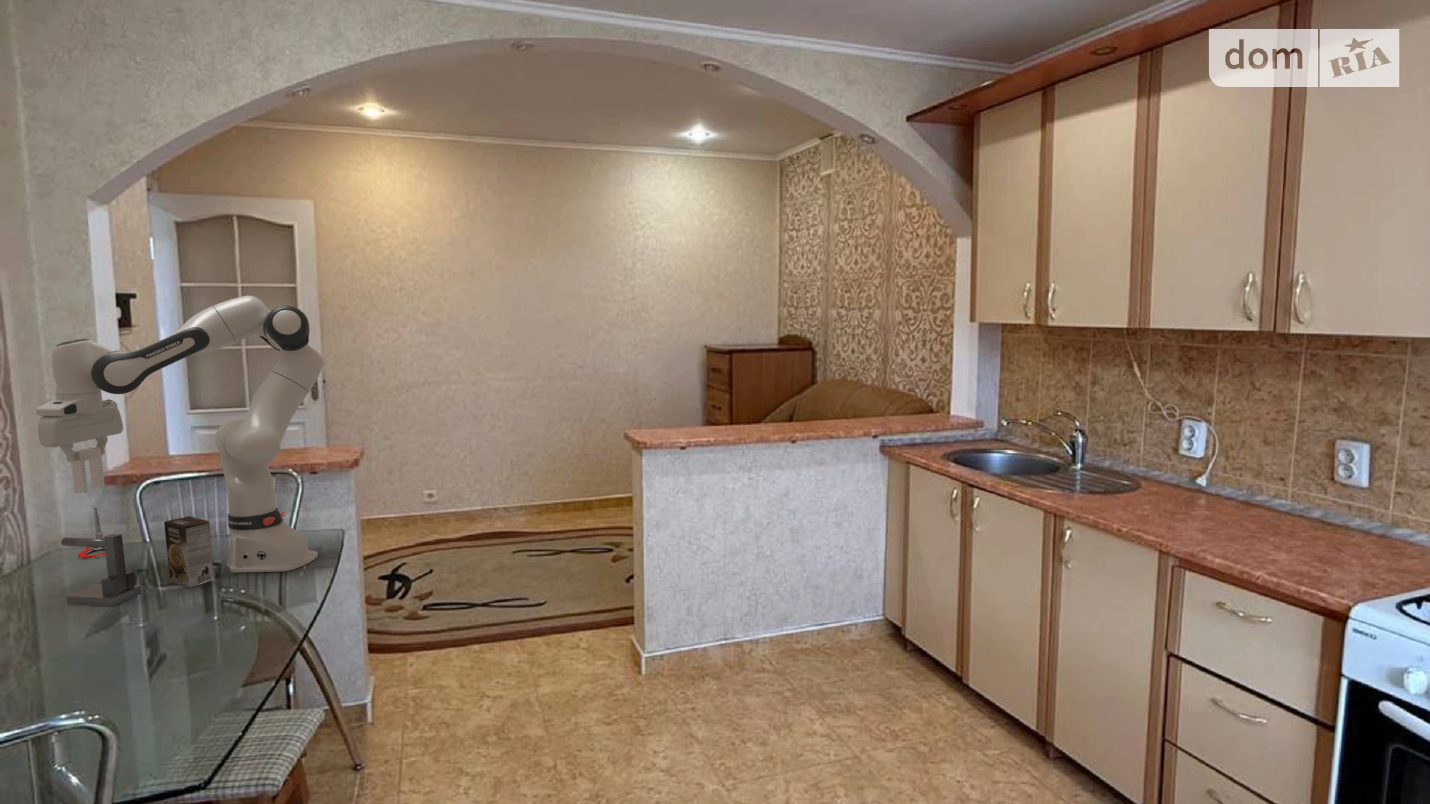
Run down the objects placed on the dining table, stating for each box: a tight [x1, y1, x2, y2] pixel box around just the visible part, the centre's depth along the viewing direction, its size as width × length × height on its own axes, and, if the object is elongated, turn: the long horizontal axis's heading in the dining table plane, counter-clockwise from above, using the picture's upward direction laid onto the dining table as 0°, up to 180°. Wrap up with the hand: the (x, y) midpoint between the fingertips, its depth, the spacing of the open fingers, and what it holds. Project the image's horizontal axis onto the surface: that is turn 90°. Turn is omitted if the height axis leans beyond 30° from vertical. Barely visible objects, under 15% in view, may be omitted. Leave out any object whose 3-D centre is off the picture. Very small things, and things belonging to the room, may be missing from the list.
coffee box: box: [163, 515, 214, 588], centre depth 198 cm, size 9×6×16 cm
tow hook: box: [77, 506, 106, 558], centre depth 218 cm, size 8×13×9 cm
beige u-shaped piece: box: [70, 446, 106, 494], centre depth 197 cm, size 2×6×10 cm, turn 174°
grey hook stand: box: [60, 533, 142, 607], centre depth 187 cm, size 15×8×16 cm, turn 83°
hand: (86, 457), depth 196 cm, fingers closed on beige u-shaped piece, 6 cm apart
